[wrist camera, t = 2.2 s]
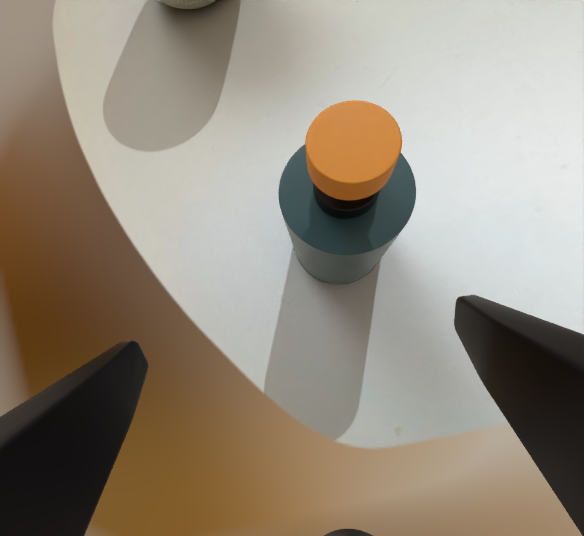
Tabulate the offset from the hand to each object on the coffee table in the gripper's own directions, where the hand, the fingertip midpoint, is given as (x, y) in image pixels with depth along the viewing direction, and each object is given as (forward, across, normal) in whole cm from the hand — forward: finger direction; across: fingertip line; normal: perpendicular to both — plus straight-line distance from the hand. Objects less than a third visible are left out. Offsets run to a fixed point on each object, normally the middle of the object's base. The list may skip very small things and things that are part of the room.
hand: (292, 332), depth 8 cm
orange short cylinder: (+7, -3, -3) cm, 9 cm away
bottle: (+16, -3, +4) cm, 17 cm away
